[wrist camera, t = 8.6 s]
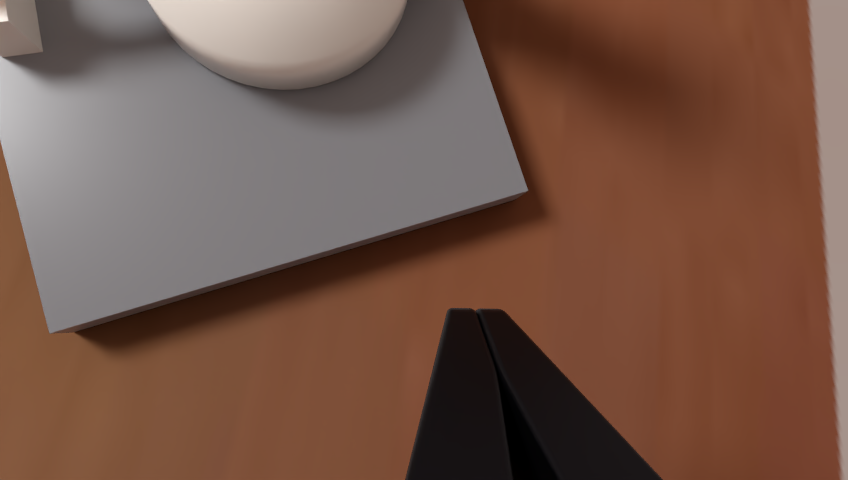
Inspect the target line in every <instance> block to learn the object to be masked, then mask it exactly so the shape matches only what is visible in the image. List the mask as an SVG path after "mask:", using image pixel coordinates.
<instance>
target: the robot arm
mask: <svg viewBox="0 0 848 480" xmlns="http://www.w3.org/2000/svg"><path fill="white" fill-rule="evenodd" d="M405 480H663V479H662V478H661V477H660V476H659V475H658V474H657V473H656V472H655V471H654V470H653V469H652V468H651V467H650V466H649V464H648V463H647V462H646V461H645V460H644V459H643V458H642V457H641V456H640V455H639V454H638V453H637V452H636V451H635V450H634V449H633V447H632V446H631V445H630V444H629V443H628V442H627V441H626V440H625V439H624V438H623V437H622V436H621V435H620V434H619V433H618V431H617V430H616V429H615V428H614V427H613V426H612V425H611V424H610V423H609V422H608V421H607V420H606V419H605V418H604V417H603V415H602V414H601V413H600V412H599V411H598V410H597V409H596V408H595V407H594V406H593V405H592V404H591V403H590V402H589V401H588V399H587V398H586V397H585V396H584V395H583V394H582V393H581V392H580V391H579V390H578V389H577V388H576V387H575V386H574V385H573V384H572V382H571V381H570V380H569V379H568V378H567V377H566V376H565V375H564V374H563V373H562V372H561V371H560V370H559V369H558V368H557V366H556V365H555V364H554V363H553V362H552V361H551V360H550V359H549V358H548V357H547V356H546V355H545V354H544V353H543V352H542V350H541V349H540V348H539V347H538V346H537V345H536V344H535V343H534V342H533V341H532V340H531V339H530V338H529V337H528V336H527V334H526V333H525V332H524V331H523V330H522V329H521V328H520V327H519V326H518V325H517V324H516V323H515V322H514V321H513V320H512V319H511V317H510V316H509V315H508V314H507V313H506V312H505V311H503V310H501V309H478V310H476V311H474V310H473V309H471V308H450V309H449V310H448V311H447V314H446V318H445V322H444V326H443V330H442V334H441V338H440V342H439V346H438V350H437V354H436V358H435V362H434V366H433V370H432V374H431V378H430V382H429V386H428V390H427V394H426V398H425V402H424V406H423V410H422V414H421V418H420V422H419V426H418V430H417V434H416V438H415V442H414V446H413V450H412V454H411V458H410V462H409V466H408V470H407V474H406V478H405Z"/></svg>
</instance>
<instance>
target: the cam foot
mask: <svg viewBox="0 0 848 480" xmlns="http://www.w3.org/2000/svg"><path fill="white" fill-rule="evenodd" d="M148 2H149V3H150V5H151V7H152V8H153V10H154V12H155V13H156V15H157V17H158V18H159V20H160V21H161V23H162V24H163V26H164V27H165V29H166V30H167V32H168V33H169V34H170V36H171V37H172V38H173V39H174V40H175V41H176V43H177V44H178V45H179V46H180V47H181V48H182V49H183V50H184V51H185V52H186V53H188V54H189V55H190V56H191V57H192V58H194V59H195V60H196V61H197V62H199V63H201V64H202V65H204V66H205V67H207V68H208V69H210V70H211V71H213V72H215V73H217V74H220V75H222V76H224V77H226V78H228V79H231V80H233V81H236V82H239V83H242V84H245V85H250V86H255V87H259V88H265V89H277V90H293V89H304V88H310V87H316V86H320V85H323V84H327V83H330V82H333V81H336V80H338V79H340V78H343V77H345V76H347V75H349V74H351V73H352V72H354V71H356V70H357V69H359V68H361V67H362V66H364V65H365V64H366V63H367V62H369V61H370V60H371V59H372V58H374V57H375V56H376V55H377V54H378V53H379V52H380V50H381V49H382V48H383V47H384V46H385V45H386V44H387V42H388V41H389V40H390V38H391V37H392V35H393V34H394V32H395V30H396V29H397V27H398V25H399V23H400V21H401V19H402V16H403V13H404V10H405V7H406V4H407V0H148Z"/></svg>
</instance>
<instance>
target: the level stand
mask: <svg viewBox="0 0 848 480" xmlns="http://www.w3.org/2000/svg"><path fill="white" fill-rule="evenodd" d="M0 141H1V145H2V148H3V152H4V156H5V160H6V164H7V168H8V172H9V176H10V180H11V184H12V188H13V192H14V196H15V200H16V204H17V208H18V211H19V215H20V219H21V223H22V227H23V231H24V235H25V239H26V243H27V247H28V251H29V255H30V259H31V263H32V267H33V271H34V274H35V278H36V282H37V286H38V290H39V294H40V298H41V302H42V306H43V310H44V314H45V318H46V322H47V326H48V330H49V333H69V332H76V331H79V330H82V329H86V328H89V327H92V326H96V325H99V324H102V323H106V322H109V321H112V320H116V319H119V318H122V317H126V316H129V315H132V314H136V313H139V312H142V311H146V310H149V309H152V308H156V307H159V306H162V305H166V304H169V303H172V302H176V301H179V300H182V299H186V298H189V297H192V296H196V295H199V294H202V293H206V292H209V291H212V290H216V289H219V288H222V287H226V286H229V285H232V284H236V283H239V282H242V281H246V280H249V279H252V278H256V277H259V276H262V275H266V274H269V273H272V272H276V271H279V270H282V269H286V268H289V267H292V266H296V265H299V264H302V263H306V262H309V261H312V260H316V259H319V258H322V257H326V256H329V255H332V254H336V253H339V252H342V251H346V250H349V249H352V248H356V247H359V246H362V245H366V244H369V243H372V242H376V241H379V240H382V239H386V238H389V237H392V236H396V235H399V234H402V233H406V232H409V231H412V230H416V229H419V228H422V227H426V226H429V225H432V224H436V223H439V222H442V221H446V220H449V219H452V218H456V217H459V216H462V215H466V214H469V213H472V212H476V211H479V210H482V209H486V208H489V207H492V206H496V205H499V204H502V203H506V202H509V201H512V200H516V199H517V198H518V197H520V196H521V195H523V194H524V193H526V192H527V191H528V189H527V186H526V183H525V180H524V177H523V174H522V171H521V168H520V165H519V162H518V159H517V156H516V154H515V151H514V148H513V145H512V142H511V139H510V136H509V133H508V130H507V127H506V124H505V122H504V119H503V116H502V113H501V110H500V107H499V104H498V101H497V98H496V95H495V92H494V90H493V87H492V84H491V81H490V78H489V75H488V72H487V69H486V66H485V63H484V60H483V58H482V55H481V52H480V49H479V46H478V43H477V40H476V37H475V34H474V31H473V28H472V26H471V23H470V20H469V17H468V14H467V11H466V8H465V5H464V2H463V0H407V4H406V7H405V10H404V13H403V16H402V19H401V21H400V23H399V25H398V27H397V29H396V30H395V32H394V34H393V35H392V37H391V38H390V40H389V41H388V42H387V44H386V45H385V46H384V47H383V48H382V49H381V50H380V52H379V53H378V54H377V55H376V56H375V57H374V58H372V59H371V60H370V61H369V62H367V63H366V64H365V65H364V66H362V67H361V68H359V69H357V70H356V71H354V72H352V73H351V74H349V75H347V76H345V77H343V78H340V79H338V80H336V81H333V82H330V83H327V84H323V85H320V86H316V87H310V88H304V89H293V90H277V89H265V88H259V87H255V86H250V85H245V84H242V83H239V82H236V81H233V80H231V79H228V78H226V77H224V76H222V75H220V74H217V73H215V72H213V71H211V70H210V69H208V68H207V67H205V66H204V65H202V64H201V63H199V62H197V61H196V60H195V59H194V58H192V57H191V56H190V55H189V54H188V53H186V52H185V51H184V50H183V49H182V48H181V47H180V46H179V45H178V44H177V43H176V41H175V40H174V39H173V38H172V37H171V36H170V34H169V33H168V32H167V30H166V29H165V27H164V26H163V24H162V23H161V21H160V20H159V18H158V17H157V15H156V13H155V12H154V10H153V8H152V7H151V5H150V3H149V2H148V0H0Z"/></svg>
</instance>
